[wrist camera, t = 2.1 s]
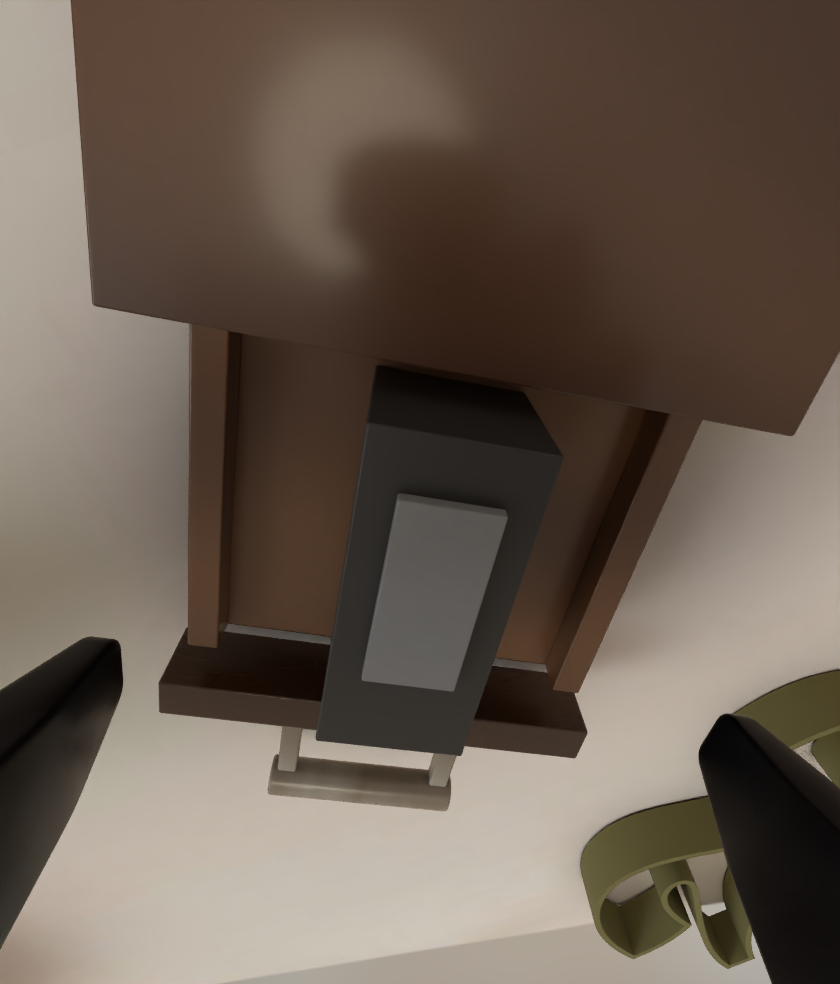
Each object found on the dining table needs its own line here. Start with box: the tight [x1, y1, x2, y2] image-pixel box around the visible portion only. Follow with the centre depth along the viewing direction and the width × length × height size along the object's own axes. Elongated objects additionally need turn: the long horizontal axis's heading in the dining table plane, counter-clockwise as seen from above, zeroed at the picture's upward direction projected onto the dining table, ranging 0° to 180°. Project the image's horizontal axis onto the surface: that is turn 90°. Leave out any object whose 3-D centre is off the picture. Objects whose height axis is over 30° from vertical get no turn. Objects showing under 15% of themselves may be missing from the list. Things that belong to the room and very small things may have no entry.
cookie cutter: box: [580, 670, 840, 969], centre depth 23 cm, size 18×12×2 cm, turn 139°
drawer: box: [159, 324, 702, 811], centre depth 15 cm, size 18×12×2 cm
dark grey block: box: [316, 366, 564, 756], centre depth 13 cm, size 8×4×4 cm, turn 169°
